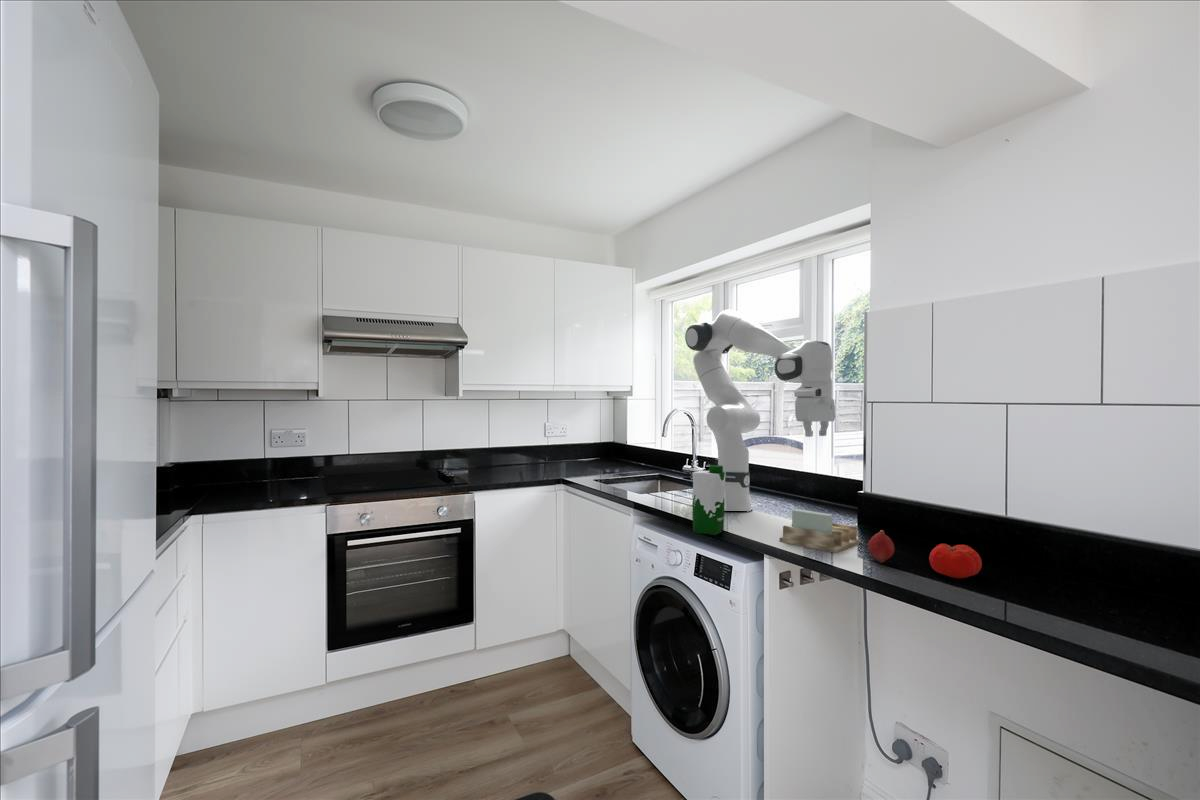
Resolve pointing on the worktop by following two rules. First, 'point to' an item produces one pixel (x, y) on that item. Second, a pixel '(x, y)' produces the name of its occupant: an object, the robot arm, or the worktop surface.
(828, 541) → the dish rack
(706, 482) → the milk carton
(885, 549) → the onion
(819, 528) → the pale green rectangular block
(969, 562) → the tomato
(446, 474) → the worktop surface
